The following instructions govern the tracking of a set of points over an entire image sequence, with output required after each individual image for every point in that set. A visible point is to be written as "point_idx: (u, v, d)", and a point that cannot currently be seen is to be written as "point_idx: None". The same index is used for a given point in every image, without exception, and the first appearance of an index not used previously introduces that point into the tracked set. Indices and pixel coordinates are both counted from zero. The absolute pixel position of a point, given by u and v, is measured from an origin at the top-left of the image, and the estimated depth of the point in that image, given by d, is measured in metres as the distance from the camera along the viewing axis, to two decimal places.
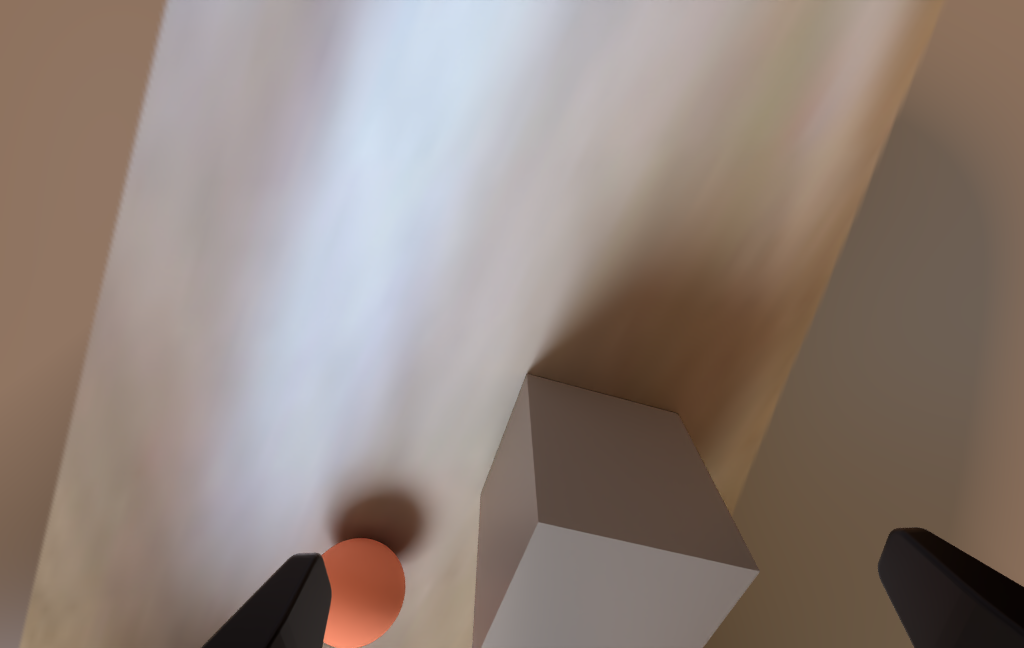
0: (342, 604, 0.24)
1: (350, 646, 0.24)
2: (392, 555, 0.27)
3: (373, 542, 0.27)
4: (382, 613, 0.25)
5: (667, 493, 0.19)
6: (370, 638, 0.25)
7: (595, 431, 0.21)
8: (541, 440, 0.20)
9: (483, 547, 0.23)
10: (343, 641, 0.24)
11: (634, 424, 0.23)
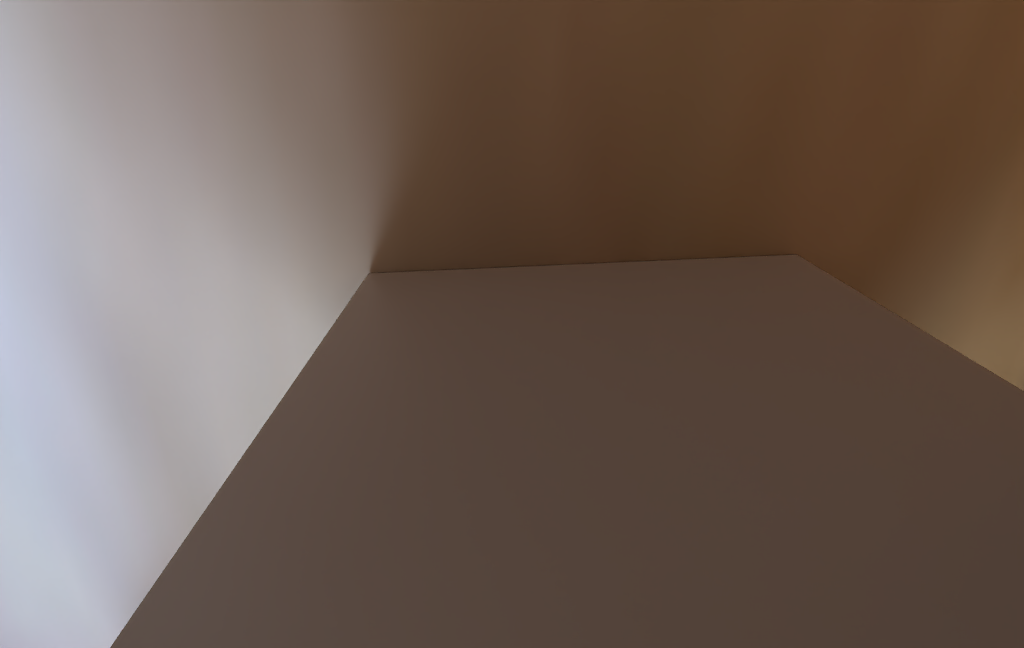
0: None
1: None
2: None
3: None
4: None
5: (882, 520, 0.04)
6: None
7: (537, 352, 0.06)
8: (294, 437, 0.05)
9: None
10: None
11: (674, 304, 0.07)
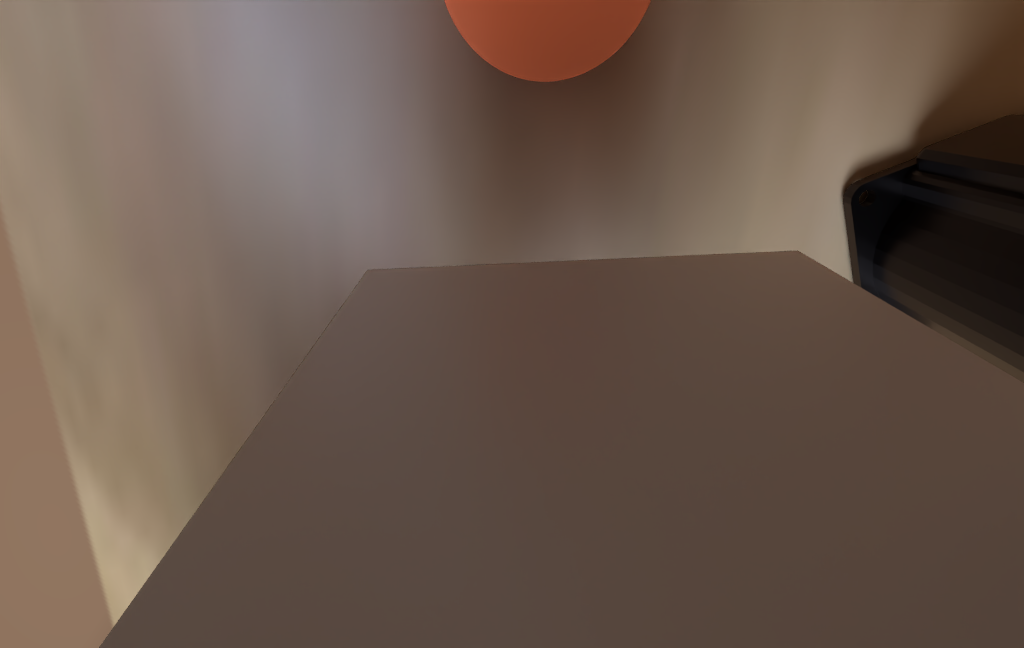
0: None
1: None
2: None
3: None
4: None
5: (886, 514, 0.04)
6: None
7: (537, 347, 0.06)
8: (291, 431, 0.05)
9: None
10: None
11: (675, 299, 0.07)
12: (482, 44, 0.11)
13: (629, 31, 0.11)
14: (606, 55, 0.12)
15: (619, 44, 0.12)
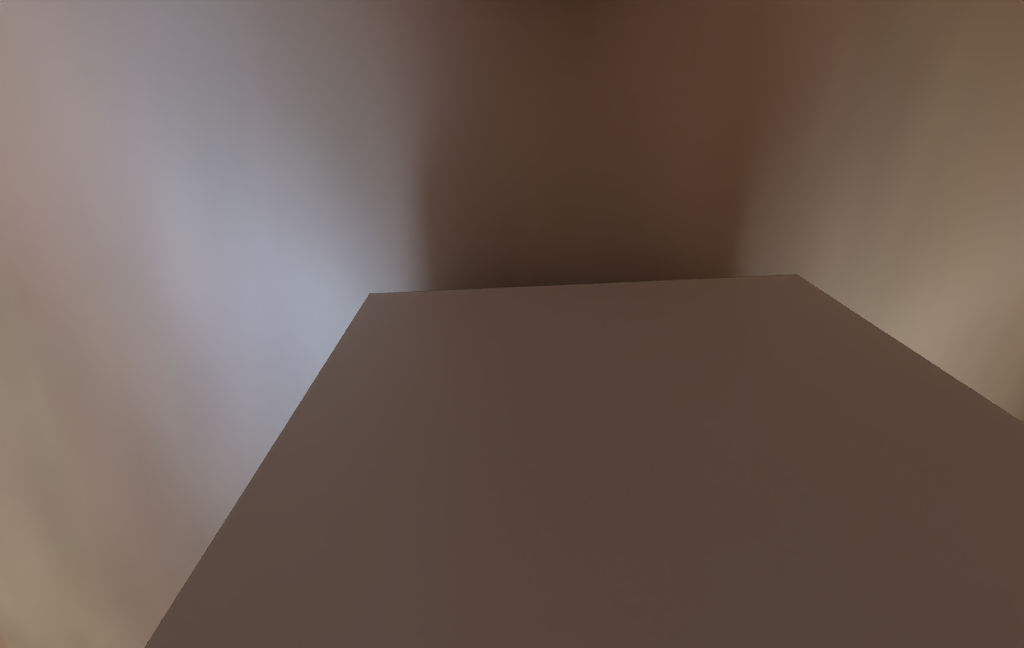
0: None
1: None
2: None
3: None
4: None
5: (883, 564, 0.04)
6: None
7: (538, 380, 0.06)
8: (295, 471, 0.05)
9: None
10: None
11: (675, 327, 0.07)
12: None
13: None
14: None
15: None
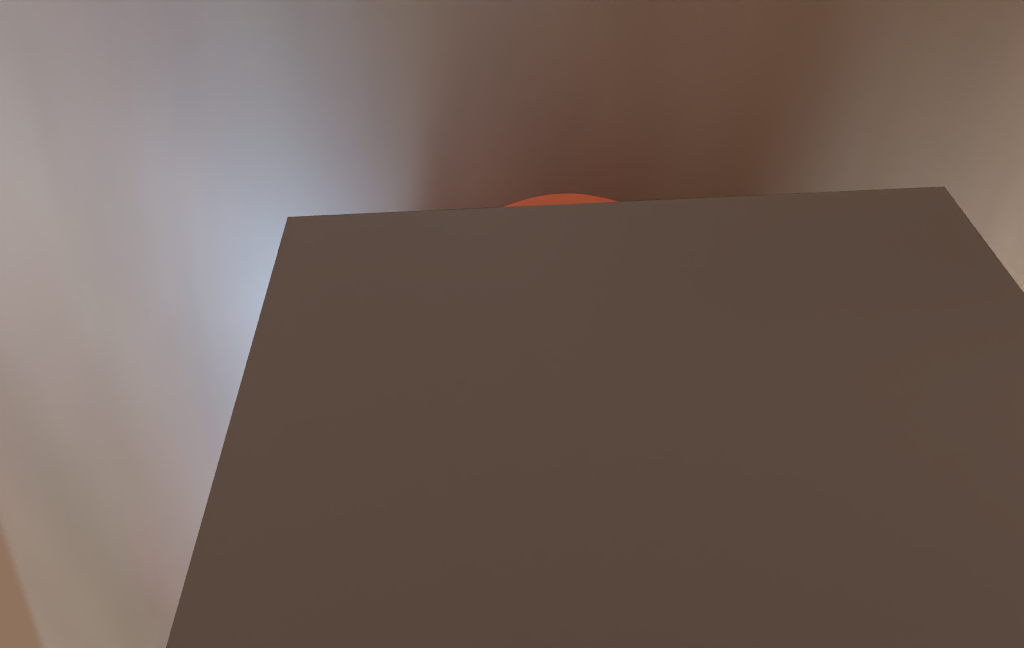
0: None
1: None
2: None
3: None
4: None
5: None
6: None
7: (557, 480, 0.04)
8: None
9: None
10: None
11: (760, 336, 0.05)
12: None
13: None
14: None
15: None
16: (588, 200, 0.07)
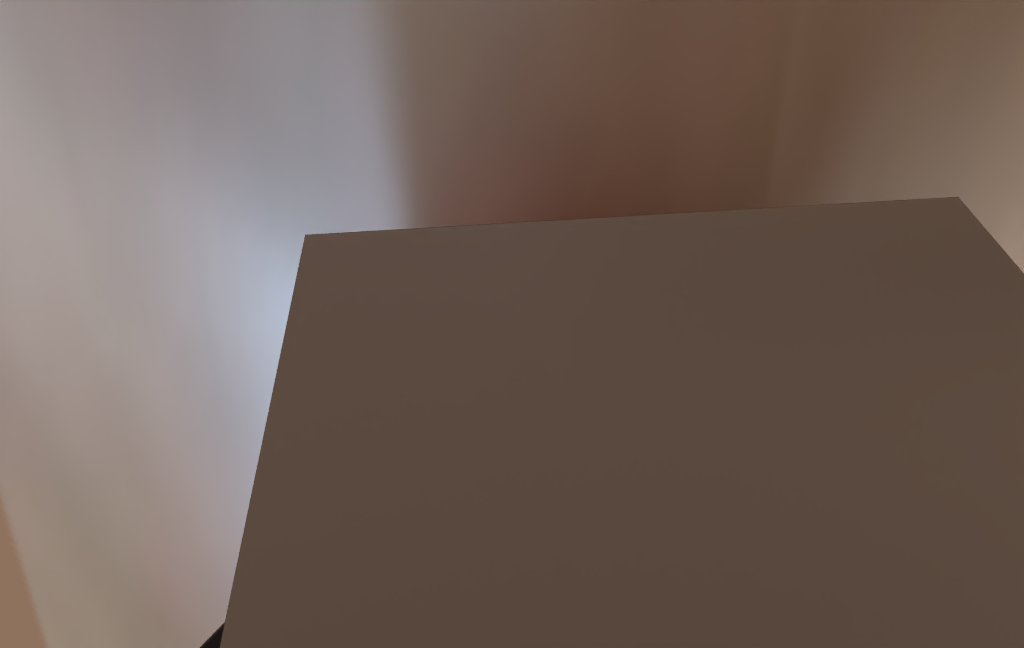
0: None
1: None
2: None
3: None
4: None
5: None
6: None
7: (609, 504, 0.04)
8: None
9: None
10: None
11: (797, 349, 0.05)
12: None
13: None
14: None
15: None
16: None
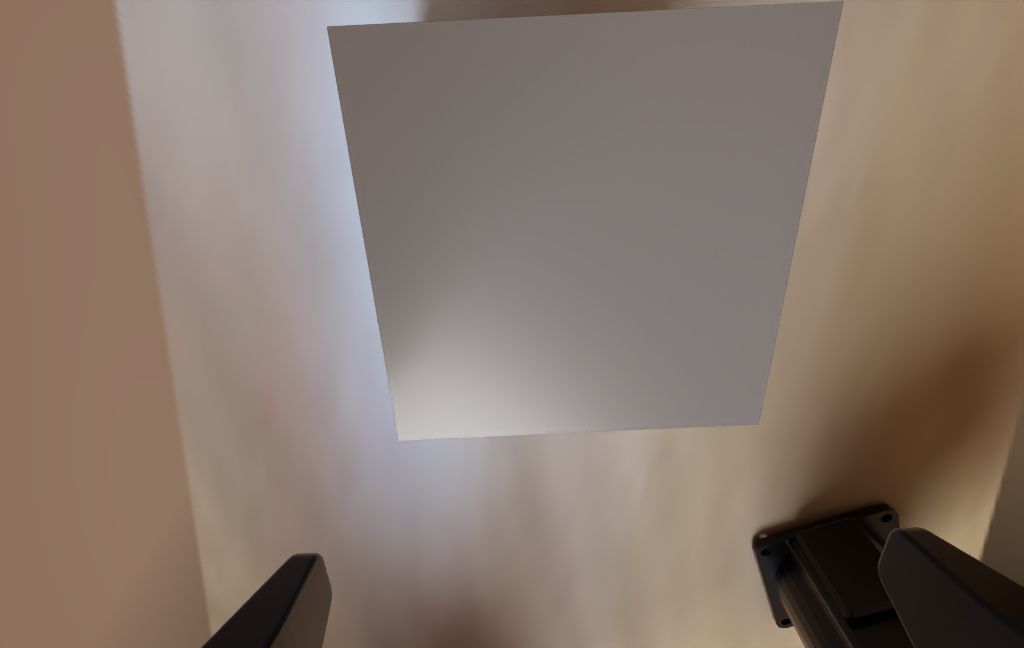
0: None
1: None
2: None
3: None
4: None
5: None
6: None
7: None
8: None
9: None
10: None
11: None
12: None
13: None
14: None
15: None
16: None
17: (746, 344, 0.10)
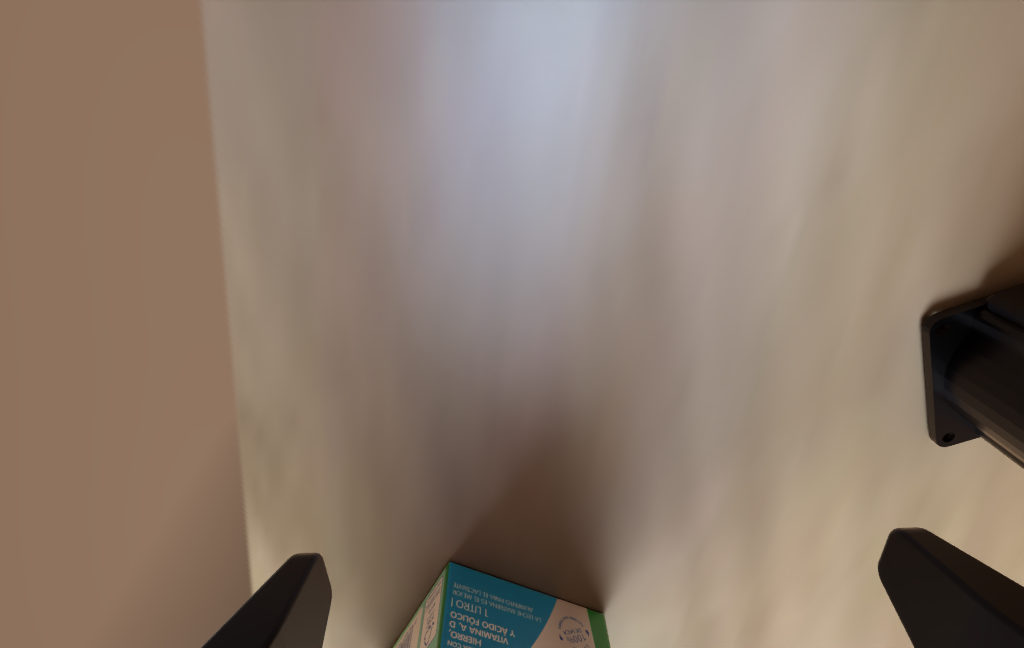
0: None
1: None
2: None
3: None
4: None
5: None
6: None
7: None
8: None
9: None
10: None
11: None
12: None
13: None
14: None
15: None
16: None
17: None
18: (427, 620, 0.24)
